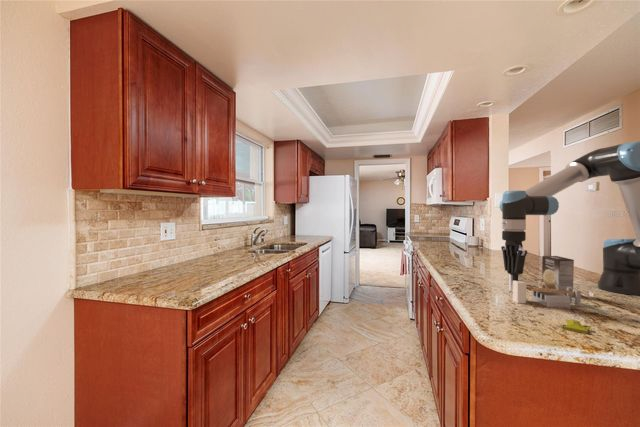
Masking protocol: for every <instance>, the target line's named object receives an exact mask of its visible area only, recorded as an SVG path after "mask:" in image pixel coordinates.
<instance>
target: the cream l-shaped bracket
mask: <svg viewBox="0 0 640 427" xmlns="http://www.w3.org/2000/svg"><path fill="white" fill-rule="evenodd" d="M538 284H539V283H538V282H536V281H535V280H534V281H533V280H518V281H513V291H512V301H513V302H514V303H517V304H527V289H526V287H527V286H538Z"/></svg>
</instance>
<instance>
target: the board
mask: <svg viewBox="0 0 640 427" xmlns="http://www.w3.org/2000/svg"><path fill="white" fill-rule="evenodd" d="M567 290H572V288H571V287H567ZM574 291H575V294H574V299H573V296H572V294H569V293H567V296H570V302H571V304H572V303H574V306H576V307H581V306H583V307H585V308H587V309H591V310H593V311H596V312H597V313H600V314H603V315H604V314H606V315H607V314H608V315H609V314H610V313H609V312H608V311H607V312H606V311H604V310H602V309H600V308H597V307H594V306H591V305H589V304H586V303H584V302H582V301H581V290H580V289H579V290H578V289H577V290H576V289H575V290H574Z"/></svg>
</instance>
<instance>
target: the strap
mask: <svg viewBox="0 0 640 427" xmlns="http://www.w3.org/2000/svg"><path fill="white" fill-rule="evenodd" d="M526 290H529V291H531V292H532V291H545V292H557V293H569V294H573V295H575V290H574V289H573V290H558V289H546V288H542V287H534V286H533V287H532V286H526Z"/></svg>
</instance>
